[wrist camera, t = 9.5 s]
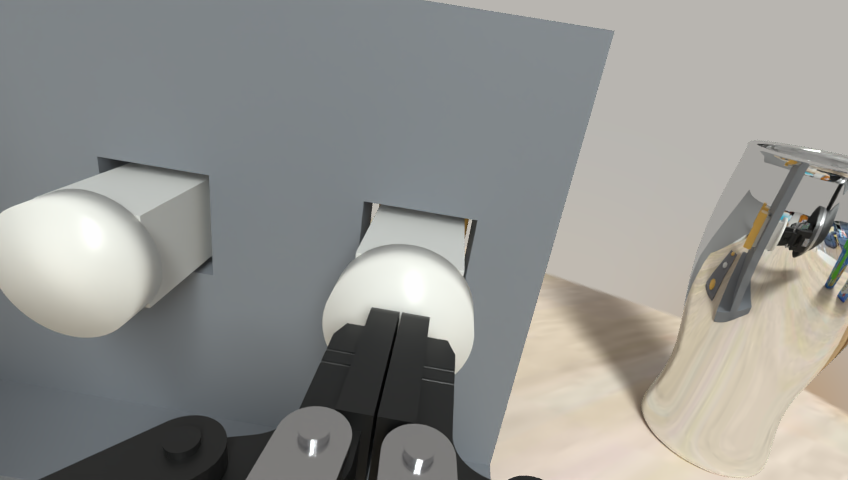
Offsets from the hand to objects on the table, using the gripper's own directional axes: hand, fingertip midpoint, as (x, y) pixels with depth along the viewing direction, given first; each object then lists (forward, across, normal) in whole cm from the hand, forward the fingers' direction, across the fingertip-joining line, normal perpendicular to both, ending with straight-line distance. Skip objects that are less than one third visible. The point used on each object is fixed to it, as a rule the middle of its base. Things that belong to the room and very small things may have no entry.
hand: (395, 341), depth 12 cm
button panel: (+6, +9, +10) cm, 15 cm away
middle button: (+5, +9, +2) cm, 11 cm away
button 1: (+5, 0, +2) cm, 6 cm away
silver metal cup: (+10, -16, +10) cm, 22 cm away
